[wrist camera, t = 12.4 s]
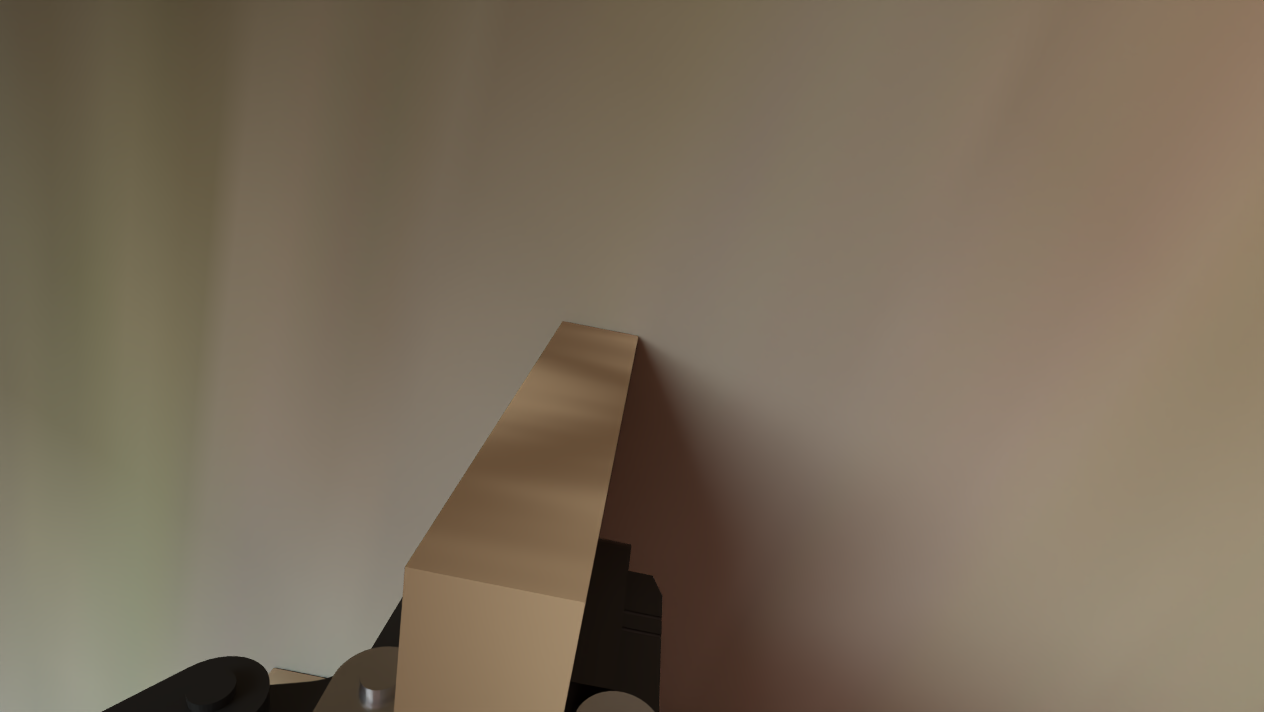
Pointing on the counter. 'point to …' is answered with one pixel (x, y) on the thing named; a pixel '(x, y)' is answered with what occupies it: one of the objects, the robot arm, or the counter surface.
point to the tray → (516, 542)
